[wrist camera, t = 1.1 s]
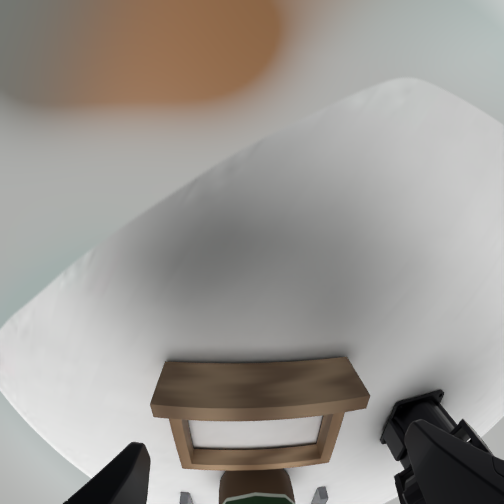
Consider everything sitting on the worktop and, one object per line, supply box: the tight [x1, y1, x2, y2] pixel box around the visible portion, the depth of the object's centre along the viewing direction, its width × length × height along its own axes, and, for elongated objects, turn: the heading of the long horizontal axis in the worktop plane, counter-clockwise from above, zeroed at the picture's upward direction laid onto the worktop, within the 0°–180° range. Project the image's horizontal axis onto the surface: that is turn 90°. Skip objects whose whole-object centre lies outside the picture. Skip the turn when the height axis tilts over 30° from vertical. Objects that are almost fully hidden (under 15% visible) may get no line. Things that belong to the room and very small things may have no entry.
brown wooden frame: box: [150, 357, 370, 471], centre depth 19 cm, size 14×12×5 cm
